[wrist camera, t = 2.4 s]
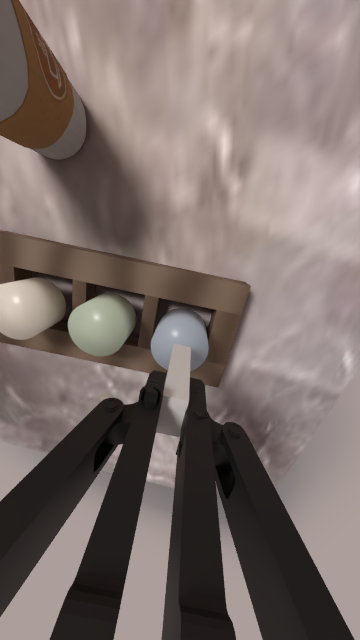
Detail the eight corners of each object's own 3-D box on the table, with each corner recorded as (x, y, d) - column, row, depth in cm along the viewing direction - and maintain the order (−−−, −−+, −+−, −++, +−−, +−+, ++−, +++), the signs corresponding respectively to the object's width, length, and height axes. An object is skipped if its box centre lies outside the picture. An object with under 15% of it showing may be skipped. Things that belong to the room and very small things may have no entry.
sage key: (86, 333, 24) (67, 350, 21) (89, 288, 22) (68, 296, 19) (133, 343, 24) (122, 361, 21) (139, 298, 23) (128, 309, 19)
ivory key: (19, 319, 24) (-13, 333, 20) (16, 272, 22) (-20, 278, 19) (65, 329, 24) (42, 344, 21) (66, 283, 22) (41, 291, 19)
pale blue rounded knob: (154, 347, 24) (146, 366, 21) (161, 303, 23) (155, 315, 19) (199, 357, 24) (200, 377, 21) (211, 314, 23) (215, 327, 19)
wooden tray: (13, 333, 28) (-3, 341, 26) (5, 231, 24) (-16, 229, 21) (216, 375, 28) (218, 387, 26) (245, 282, 24) (250, 286, 22)
